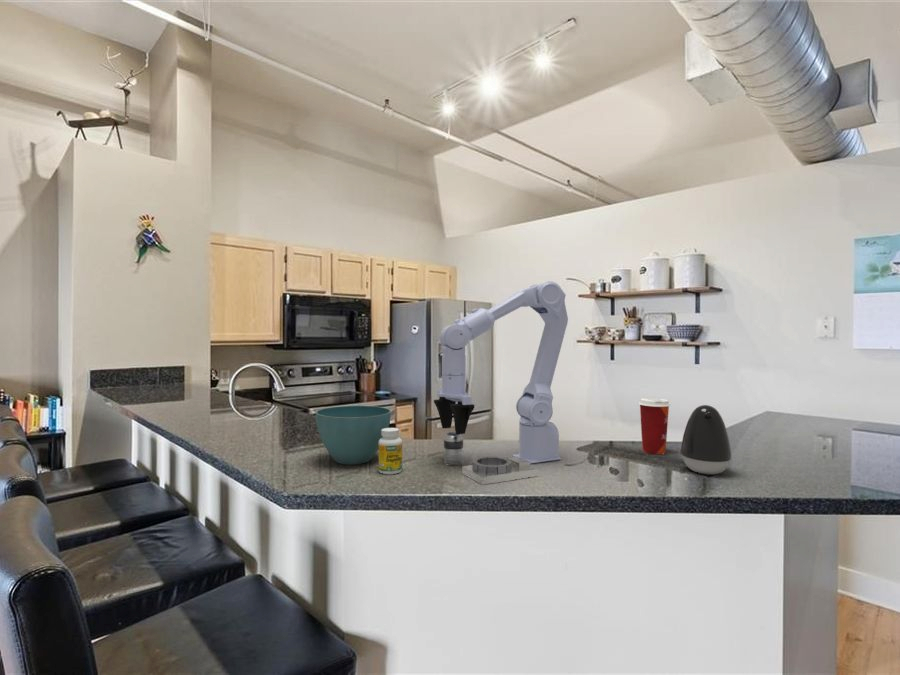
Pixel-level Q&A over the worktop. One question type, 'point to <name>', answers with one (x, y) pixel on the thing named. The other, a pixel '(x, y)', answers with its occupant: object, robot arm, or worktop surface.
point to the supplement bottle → (390, 451)
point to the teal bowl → (352, 431)
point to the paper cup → (654, 424)
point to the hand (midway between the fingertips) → (453, 430)
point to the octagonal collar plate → (499, 469)
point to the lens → (453, 448)
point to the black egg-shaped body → (706, 442)
